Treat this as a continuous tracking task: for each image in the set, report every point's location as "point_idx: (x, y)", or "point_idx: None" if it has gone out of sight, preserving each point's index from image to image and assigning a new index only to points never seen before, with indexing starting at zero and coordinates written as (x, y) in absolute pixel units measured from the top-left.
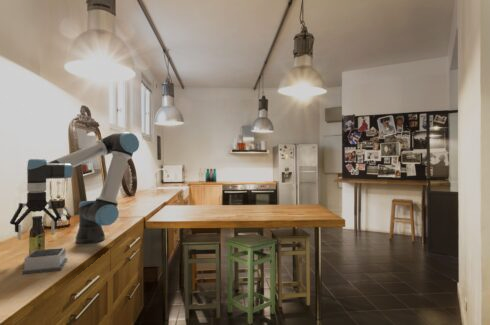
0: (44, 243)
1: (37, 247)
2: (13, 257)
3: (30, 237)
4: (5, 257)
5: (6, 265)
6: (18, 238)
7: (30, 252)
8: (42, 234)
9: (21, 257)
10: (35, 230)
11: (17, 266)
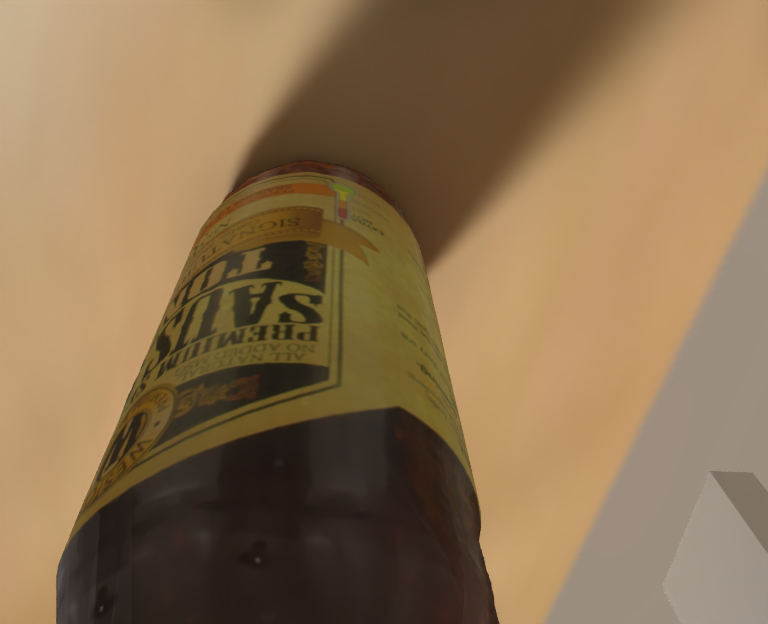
0: (160, 327)
1: (331, 243)
2: (505, 512)
3: (475, 491)
4: (561, 565)
5: (721, 213)
6: (762, 509)
7: (427, 279)
8: (167, 438)
9: None
10: (385, 617)
11: (667, 20)
